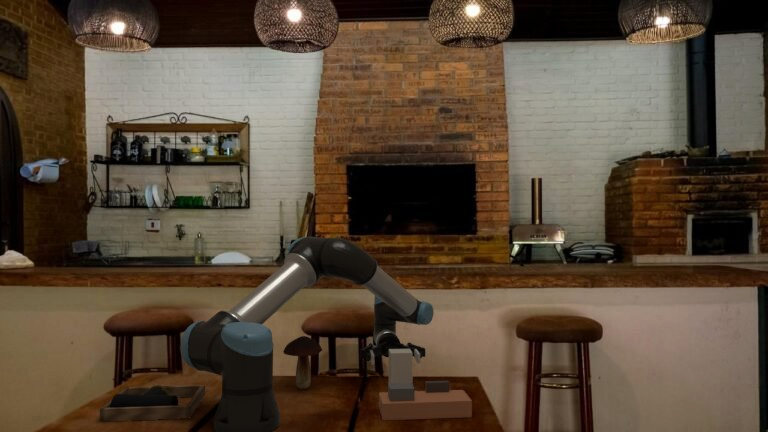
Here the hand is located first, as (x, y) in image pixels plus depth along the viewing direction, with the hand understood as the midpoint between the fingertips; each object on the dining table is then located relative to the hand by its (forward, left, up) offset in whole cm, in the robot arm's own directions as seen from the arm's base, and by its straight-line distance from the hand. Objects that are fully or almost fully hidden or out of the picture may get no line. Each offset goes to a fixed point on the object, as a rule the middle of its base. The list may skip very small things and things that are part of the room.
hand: (396, 359), depth 169 cm
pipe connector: (-65, -16, -8) cm, 67 cm away
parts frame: (-64, -15, -7) cm, 66 cm away
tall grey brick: (0, -10, -7) cm, 12 cm away
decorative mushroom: (-27, -2, -7) cm, 28 cm away
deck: (+4, -22, -7) cm, 23 cm away
